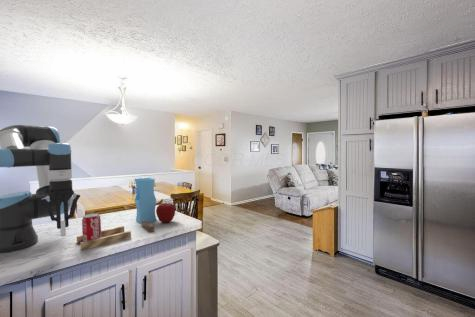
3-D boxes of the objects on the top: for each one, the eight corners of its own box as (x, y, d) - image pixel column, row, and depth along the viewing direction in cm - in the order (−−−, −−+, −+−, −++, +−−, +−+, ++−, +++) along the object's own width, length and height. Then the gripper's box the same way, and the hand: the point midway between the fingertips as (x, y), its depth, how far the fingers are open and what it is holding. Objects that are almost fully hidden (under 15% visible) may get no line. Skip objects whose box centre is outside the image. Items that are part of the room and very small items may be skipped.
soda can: (92, 247, 99) (91, 217, 98) (78, 245, 100) (77, 216, 100) (105, 240, 106) (104, 213, 105) (92, 239, 107) (91, 212, 107)
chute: (81, 250, 95) (81, 243, 95) (76, 242, 104) (76, 236, 104) (131, 237, 109) (130, 231, 109) (123, 231, 117) (123, 225, 117)
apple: (160, 226, 125) (159, 205, 124) (153, 221, 133) (153, 202, 132) (178, 222, 132) (178, 202, 131) (171, 218, 140) (171, 199, 139)
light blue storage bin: (135, 219, 137) (134, 178, 136) (151, 216, 143) (150, 177, 142) (139, 223, 130) (138, 180, 129) (156, 220, 136) (155, 179, 135)
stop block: (150, 232, 115) (150, 226, 115) (141, 226, 124) (141, 221, 124) (154, 231, 117) (154, 226, 117) (145, 226, 125) (145, 220, 125)
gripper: (40, 182, 87) (43, 242, 88) (81, 179, 96) (83, 233, 97) (39, 180, 93) (42, 237, 94) (78, 177, 102) (80, 229, 102)
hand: (63, 235), depth 95 cm, fingers closed
